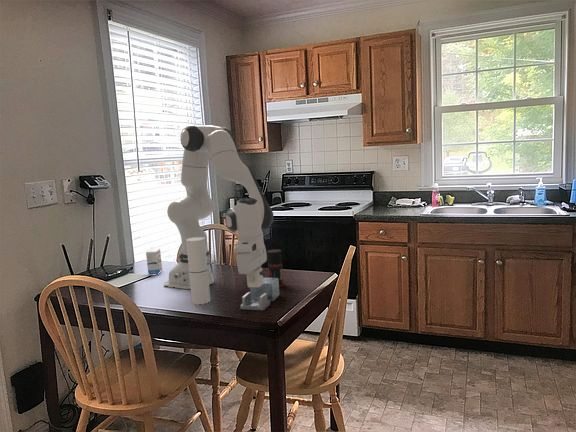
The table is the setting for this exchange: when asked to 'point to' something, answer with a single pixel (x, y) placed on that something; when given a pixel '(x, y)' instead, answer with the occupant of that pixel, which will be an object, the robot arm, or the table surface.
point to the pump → (257, 278)
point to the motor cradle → (261, 295)
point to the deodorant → (275, 265)
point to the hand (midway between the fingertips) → (254, 280)
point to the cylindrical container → (198, 270)
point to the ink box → (154, 261)
